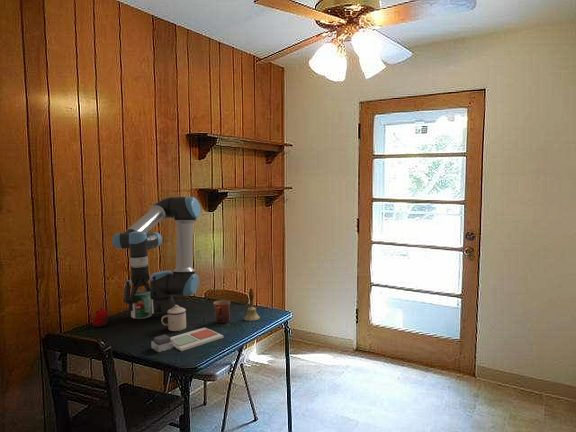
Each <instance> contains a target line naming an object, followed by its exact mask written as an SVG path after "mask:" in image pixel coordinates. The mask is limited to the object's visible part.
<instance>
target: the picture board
mask: <svg viewBox="0 0 576 432" xmlns="http://www.w3.org/2000/svg"><path fill="white" fill-rule="evenodd" d="M169 337H170V340H172V341H174V349H176V350H179V351H181V352H183V351H187V350H190V349H193V348H196V347H198V346H202V345H204V344H208V343H211V342H214V341H217V340H220V339H224V335H223V334H222V333H219V332H217V331H214V330H212V329H209V328H207V327H206V326H205V327H202V328H198V329H195V330H194V329H193V330H191V331H187V332H185V333H184V332H183V333H181V334H177V335H175V336H169Z"/></svg>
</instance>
